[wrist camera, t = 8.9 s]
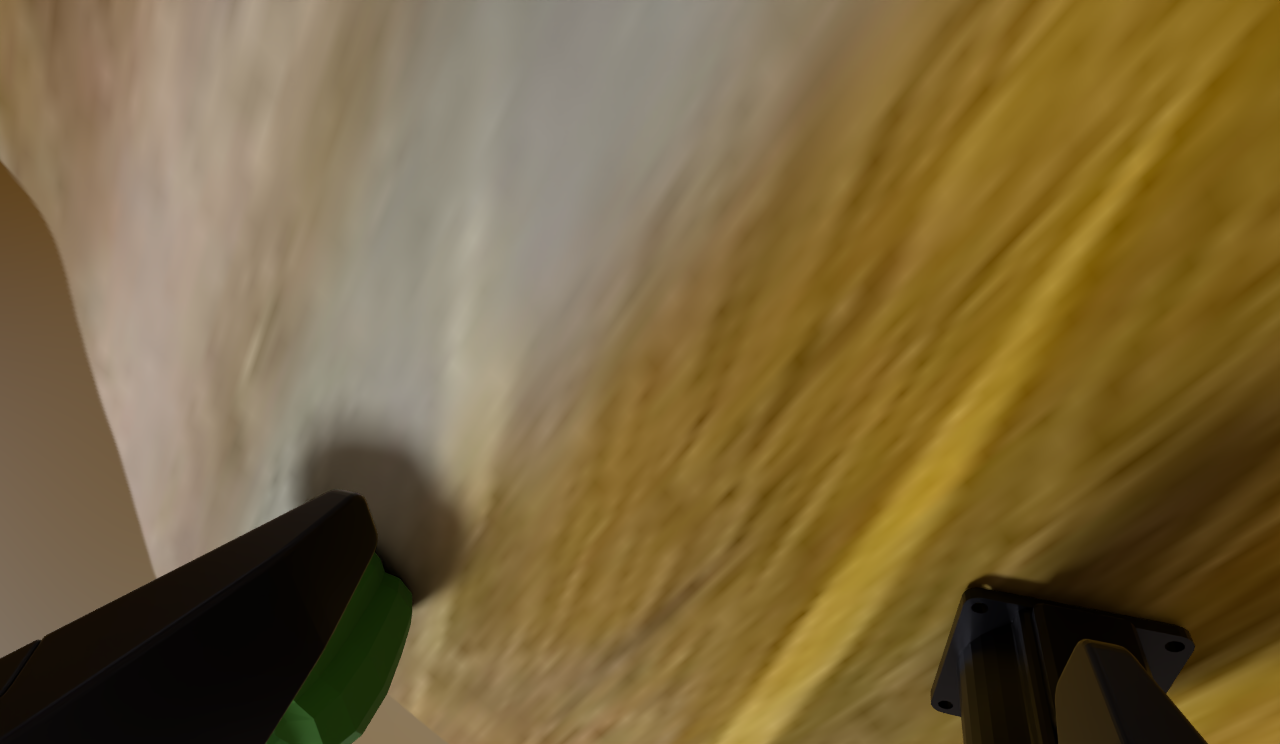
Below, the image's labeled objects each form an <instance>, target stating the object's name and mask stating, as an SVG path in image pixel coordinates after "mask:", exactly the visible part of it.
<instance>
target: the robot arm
mask: <svg viewBox="0 0 1280 744" xmlns="http://www.w3.org/2000/svg"><path fill="white" fill-rule="evenodd" d="M377 541H378V534H377V530H376V528H375V525H374V522H373V519H372V516H371V513H370V510H369V507H368V504H367V502H366V499H365V498H364V497H363V496H362V495H361V494H359V493H356V492H351V491H346V490H341V489H334V490H331V491H328V492H326V493H324V494H322V495H320V496H318V497H316V498H314V499H313V500H311V501H309V502H307V503H305V504H303V505H301V506H299V507H297V508H295V509H293V510H291V511H289V512H287V513H285V514H283V515H281V516H279V517H277V518H275V519H273V520H271V521H269V522H267V523H265V524H263V525H261V526H260V527H258V528H256V529H254V530H252V531H250V532H248V533H246V534H244V535H242V536H240V537H238V538H236V539H234V540H232V541H230V542H228V543H226V544H224V545H222V546H220V547H218V548H216V549H214V550H212V551H210V552H209V553H207V554H205V555H203V556H201V557H199V558H197V559H195V560H193V561H191V562H189V563H187V564H185V565H183V566H181V567H179V568H177V569H175V570H173V571H171V572H169V573H167V574H165V575H163V576H161V577H159V578H157V579H155V580H153V581H152V582H150V583H148V584H146V585H144V586H142V587H140V588H138V589H136V590H134V591H132V592H130V593H128V594H126V595H124V596H122V597H120V598H118V599H116V600H114V601H112V602H110V603H108V604H106V605H104V606H103V607H100V608H98V609H96V610H95V611H93V612H91V613H89V614H87V615H85V616H83V617H81V618H79V619H77V620H75V621H73V622H71V623H69V624H67V625H65V626H63V627H61V628H59V629H57V630H55V631H53V632H51V633H49V634H47V635H46V636H44V638H43V639H42V640H36V641H33V642H32V643H30V644H27V645H26V646H24V647H22V648H20V649H18V650H16V651H14V652H12V653H10V654H8V655H6V656H4V657H2V658H0V744H266V742H267V741H268V739H269V737H270V736H271V734H272V733H273V731H274V730H275V728H276V726H277V725H278V723H279V722H280V720H281V718H282V717H283V715H284V714H285V712H286V711H287V709H288V707H289V706H290V704H291V703H292V701H293V699H294V698H295V696H296V695H297V693H298V691H299V690H300V688H301V687H302V685H303V684H304V682H305V680H306V679H307V677H308V676H309V674H310V672H311V671H312V669H313V668H314V666H315V665H316V663H317V661H318V660H319V658H320V656H321V655H322V653H323V651H324V650H325V648H326V646H327V644H328V642H329V640H330V639H331V637H332V635H333V633H334V631H335V629H336V627H337V625H338V623H339V621H340V619H341V617H342V615H343V613H344V611H345V609H346V607H347V605H348V603H349V601H350V600H351V598H352V596H353V594H354V592H355V590H356V588H357V586H358V584H359V582H360V580H361V578H362V576H363V574H364V572H365V570H366V568H367V566H368V564H369V562H370V560H371V558H372V556H373V554H374V552H375V549H376V546H377ZM977 603H982V604H977ZM1194 648H1195V645H1194V643H1193V641H1192V638H1191V636H1190V634H1189V632H1188V631H1187V630H1186V629H1185V628H1183V627H1180V626H1176V625H1171V624H1166V623H1161V622H1156V621H1150V620H1145V619H1140V618H1135V617H1129V616H1124V615H1119V614H1114V613H1108V612H1103V611H1098V610H1093V609H1087V608H1082V607H1077V606H1072V605H1067V604H1061V603H1056V602H1051V601H1046V600H1040V599H1035V598H1030V597H1025V596H1019V595H1014V594H1009V593H1004V592H998V591H993V590H988V589H983V588H973V589H969V590H967V591H965V592H964V593H963V595H962V598H961V601H960V604H959V607H958V610H957V613H956V616H955V619H954V622H953V625H952V628H951V631H950V634H949V637H948V640H947V643H946V646H945V649H944V652H943V656H942V659H941V662H940V665H939V668H938V671H937V674H936V677H935V680H934V683H933V686H932V689H931V705H932V707H933V708H934V709H936V710H937V711H940V712H943V713H947V714H951V715H955V716H959V717H961V719H962V730H963V741H964V744H1208V743H1207V742H1206V741H1205V740H1204V738H1203V737H1202V736H1201V735H1200V734H1199V733H1198V731H1197V730H1196V729H1195V728H1194V727H1193V725H1192V724H1191V723H1190V722H1189V721H1188V720H1187V718H1186V717H1185V716H1184V715H1183V714H1182V712H1181V711H1180V710H1179V709H1178V708H1177V706H1176V705H1175V704H1174V703H1173V702H1172V701H1171V699H1170V698H1169V697H1168V696H1167V695H1166V693H1167V691H1168V690H1169V688H1170V687H1171V685H1172V684H1173V682H1174V680H1175V679H1176V677H1177V676H1178V674H1179V673H1180V671H1181V670H1182V668H1183V667H1184V665H1185V663H1186V662H1187V660H1188V659H1189V657H1190V656H1191V654H1192V653H1193V651H1194Z"/></svg>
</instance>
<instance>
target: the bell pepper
mask: <svg viewBox="0 0 1280 744" xmlns="http://www.w3.org/2000/svg"><path fill="white" fill-rule="evenodd" d="M411 617H412V593H411V592H410V591H409V589H408V588H407V587H406V586H405V584H404V583H403V582H402V581H401V580H400V578H398V577H395V576H393V575H390V574H388V573H385V571H384V568H383V565H382V562H381V559H380V558H379V557H378V556H377V554H376V553H375V552H374V554H373V556H372V558H371V560H370V562H369V564H368V566H367V568H366V570H365V572H364V574H363V576H362V578H361V580H360V582H359V584H358V586H357V588H356V590H355V592H354V594H353V596H352V598H351V600H350V601H349V603H348V605H347V607H346V609H345V611H344V613H343V615H342V617H341V619H340V621H339V623H338V625H337V627H336V629H335V631H334V633H333V635H332V637H331V639H330V640H329V642H328V644H327V646H326V648H325V650H324V651H323V653H322V655H321V656H320V658H319V660H318V661H317V663H316V665H315V666H314V668H313V669H312V671H311V672H310V674H309V676H308V677H307V679H306V680H305V682H304V684H303V685H302V687H301V688H300V690H299V691H298V693H297V695H296V696H295V698H294V699H293V701H292V703H291V704H290V706H289V707H288V709H287V711H286V712H285V714H284V715H283V717H282V718H281V720H280V722H279V723H278V725H277V726H276V728H275V730H274V731H273V733H272V734H271V736H270V737H269V739H268V741H267V742H266V744H352V743H353V742H354V741H355V740H356V739H358V738H359V737H360V736H361V735H362V734H363V732H364V731H365V729H366V728H367V726H368V724H369V723H370V721H371V719H372V718H373V716H374V715H375V713H376V711H377V709H378V708H379V706H380V705H381V703H382V701H383V700H384V698H385V696H386V695H387V693H388V690H389V687H390V685H391V682H392V679H393V677H394V674H395V671H396V668H397V666H398V663H399V660H400V658H401V655H402V652H403V648H404V645H405V642H406V638H407V635H408V632H409V628H410V625H411Z"/></svg>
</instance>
